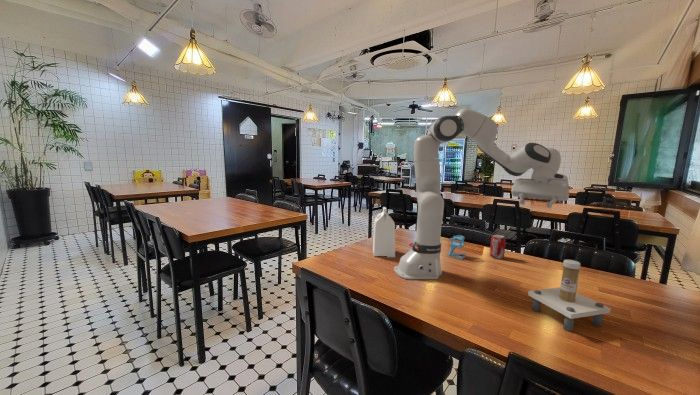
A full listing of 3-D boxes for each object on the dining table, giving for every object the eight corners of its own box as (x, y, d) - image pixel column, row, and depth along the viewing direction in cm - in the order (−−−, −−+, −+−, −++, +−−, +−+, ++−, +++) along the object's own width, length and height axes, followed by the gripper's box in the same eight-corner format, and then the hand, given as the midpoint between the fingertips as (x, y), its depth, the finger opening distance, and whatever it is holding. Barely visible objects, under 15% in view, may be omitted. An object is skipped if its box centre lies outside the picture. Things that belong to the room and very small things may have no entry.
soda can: (505, 260, 156) (507, 238, 154) (491, 258, 157) (493, 237, 155) (501, 255, 163) (503, 234, 161) (488, 254, 164) (489, 234, 162)
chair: (451, 253, 166) (452, 232, 165) (466, 256, 161) (467, 234, 160) (446, 256, 160) (447, 235, 158) (462, 259, 155) (463, 238, 154)
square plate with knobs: (568, 333, 90) (571, 312, 89) (526, 307, 106) (528, 289, 105) (607, 327, 94) (610, 306, 93) (561, 303, 110) (563, 285, 109)
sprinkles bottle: (558, 299, 99) (563, 261, 97) (559, 294, 102) (564, 258, 101) (575, 303, 96) (580, 264, 94) (576, 298, 99) (581, 261, 98)
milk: (395, 257, 158) (396, 210, 154) (374, 256, 158) (375, 209, 155) (392, 250, 170) (393, 206, 166) (372, 249, 170) (373, 206, 166)
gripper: (514, 173, 129) (505, 197, 124) (572, 176, 115) (564, 203, 110) (516, 183, 133) (508, 206, 127) (572, 186, 119) (565, 213, 113)
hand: (534, 205), depth 118 cm, fingers open, 8 cm apart
